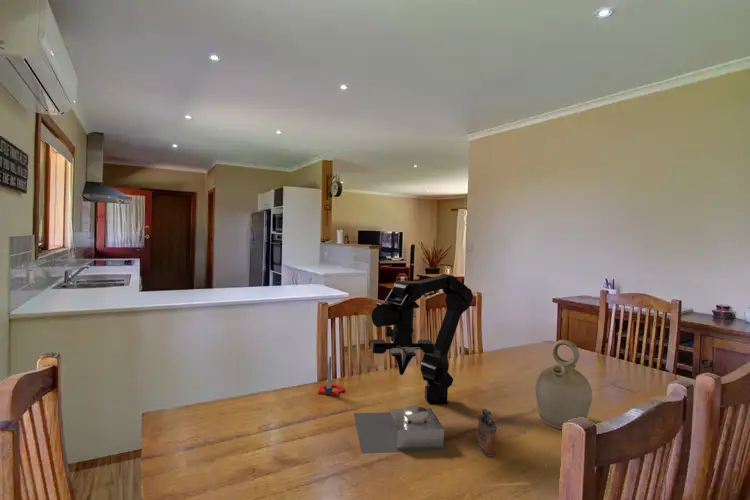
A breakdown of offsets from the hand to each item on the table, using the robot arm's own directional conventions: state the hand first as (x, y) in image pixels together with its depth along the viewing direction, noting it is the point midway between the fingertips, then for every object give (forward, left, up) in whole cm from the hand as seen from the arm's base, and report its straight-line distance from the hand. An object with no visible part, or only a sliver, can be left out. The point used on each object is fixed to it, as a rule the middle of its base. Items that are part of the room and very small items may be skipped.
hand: (401, 374), depth 123 cm
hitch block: (-1, +15, -12) cm, 19 cm away
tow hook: (+20, -18, -12) cm, 30 cm away
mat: (+3, +11, -12) cm, 17 cm away
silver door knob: (-1, +15, -11) cm, 19 cm away
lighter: (-18, +22, -12) cm, 31 cm away
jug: (-48, +8, -12) cm, 50 cm away
